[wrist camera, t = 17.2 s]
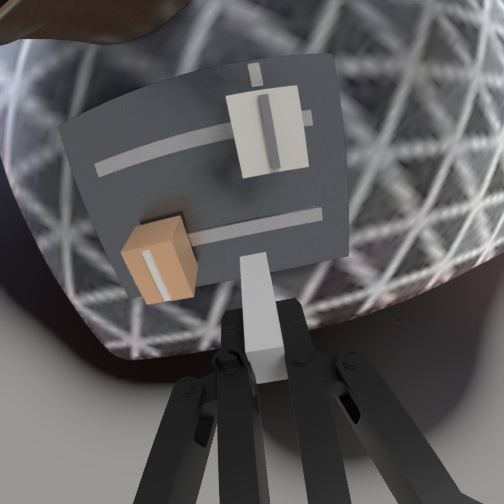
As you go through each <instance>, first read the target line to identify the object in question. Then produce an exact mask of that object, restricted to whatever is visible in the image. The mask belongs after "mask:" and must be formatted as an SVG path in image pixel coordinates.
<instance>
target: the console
mask: <svg viewBox="0 0 504 504" xmlns="http://www.w3.org/2000/svg"><path fill="white" fill-rule="evenodd" d="M295 85H297V88H298V93H299V99H300V105H301V112H302V118H303V125H304V132H305V139H306V146H307V154H308V162H309V167H305V168H298V169H292V170H286V171H280V172H275V173H269V174H264V175H259V176H253V177H248V178H243V176H242V172H241V167H240V162H239V157H238V153H237V148H236V143H235V138H234V134H233V129H232V124H231V120H230V115H229V110H228V106H227V101H226V96H229V95H234V94H239V93H244V92H250V91H256V90H263V89H270V88H277V87H286V86H295ZM58 127H59V131H60V134H61V138H62V141H63V145H64V148H65V151H66V154H67V158H68V161H69V164H70V167H71V170H72V173H73V175H74V178H75V181H76V184H77V187H78V189H79V192H80V195H81V197H82V200H83V202H84V205H85V207H86V210H87V212H88V214H89V217H90V219H91V221H92V224H93V226H94V228H95V231H96V233H97V235H98V237H99V239H100V242H101V244H102V246H103V248H104V250H105V252H106V254H107V256H108V258H109V260H110V262H111V264H112V266H113V268H114V270H115V272H116V274H117V276H118V278H119V280H120V281H121V283H122V285H123V287H124V289H125V291H126V292H127V294H128V296H129V298H134V297H140V296H142V294H141V293H140V291H139V289H138V287H137V285H136V283H135V281H134V279H133V277H132V275H131V273H130V271H129V269H128V267H127V265H126V263H125V261H124V259H123V257H122V255H121V253H120V252H121V251H122V249H123V247H124V245H125V244H126V242H127V240H128V239H129V237H130V235H131V234H132V232H133V230H134V229H135V227H136V226H140V225H144V224H148V223H151V222H155V221H159V220H163V219H167V218H171V217H175V216H181V219H182V222H183V225H184V228H185V231H186V234H187V237H188V240H189V242H190V245H191V248H192V251H193V254H194V257H195V260H196V262H197V265H198V270H197V277H196V284H195V287H197V286H203V285H208V284H213V283H219V282H224V281H229V280H234V279H240V278H241V271H240V257H242V256H247V255H252V254H257V253H263V252H266V256H267V261H268V266H269V271H270V272H275V271H280V270H285V269H290V268H295V267H299V266H304V265H309V264H314V263H318V262H323V261H328V260H332V259H337V258H342V257H346V256H349V206H348V180H347V163H346V150H345V138H344V128H343V119H342V110H341V103H340V95H339V88H338V82H337V76H336V70H335V64H334V59H333V54H306V55H291V56H280V57H270V58H262V59H255V60H248V61H242V62H236V63H231V64H226V65H221V66H216V67H211V68H207V69H203V70H199V71H195V72H191V73H187V74H184V75H180V76H177V77H173V78H170V79H167V80H163V81H160V82H157V83H154V84H151V85H148V86H146V87H143V88H140V89H137V90H135V91H132V92H129V93H127V94H124V95H122V96H119V97H117V98H115V99H112V100H110V101H108V102H105V103H103V104H101V105H99V106H97V107H95V108H92V109H90V110H88V111H86V112H84V113H82V114H80V115H78V116H76V117H75V118H73V119H71V120H69V121H67V122H65V123H63V124H62V125H60V126H58Z"/></svg>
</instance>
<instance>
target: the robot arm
mask: <svg viewBox="0 0 504 504" xmlns="http://www.w3.org/2000/svg"><path fill="white" fill-rule="evenodd" d="M240 271H241V288H242V306H243V308H241V309H235V310H228V311H225V313H224V315H223V317H222V319H221V328H222V329H221V350H220V351H218V352H217V353H216V354H215V355H214V357H213V359H212V364H213V366H214V368H215V369H216V371H215V372H213V373H212V374H210V375H208V376H206V377H203V378H201V379H197V378H194V377H184V378H182V379H180V380H179V381H177V382H176V384H175V385H174V387H173V390H172V392H171V395H170V398H169V401H168V404H167V406H166V409H165V412H164V414H163V417H162V420H161V423H160V426H159V429H158V431H157V434H156V437H155V440H154V443H153V446H152V448H151V451H150V454H149V457H148V460H147V463H146V466H145V469H144V472H143V475H142V478H141V481H140V484H139V487H138V490H137V493H136V496H135V499H134V502H133V504H196V501H197V497H198V493H199V490H200V486H201V482H202V478H203V475H204V470H205V467H206V463H207V459H208V456H209V452H210V448H211V444H212V441H213V437H214V433H215V429H216V425H217V424H218V425H217V427H218V429H217V431H218V472H219V497H220V504H270V498H269V489H268V480H267V470H266V461H265V452H264V442H263V432H262V423H261V414H260V404H259V394H258V391H257V386H256V382H257V384H258V383H265V382H272V381H278V380H283V379H288V380H289V387H290V393H291V398H292V404H293V410H294V417H295V423H296V429H297V435H298V441H299V447H300V454H301V460H302V466H303V473H304V479H305V485H306V492H307V499H308V504H351V499H350V494H349V489H348V484H347V479H346V474H345V469H344V465H343V460H342V456H341V451H340V446H339V442H338V438H337V433H336V429H335V425H334V421H333V416H332V413H331V408H330V404H329V400H328V396H334V397H335V398H336V400H337V402H338V403H339V405H340V406H341V408H342V410H343V412H344V413H345V415H346V417H347V418H348V420H349V422H350V424H351V425H352V427H353V429H354V430H355V432H356V434H357V435H358V437H359V439H360V440H361V442H362V444H363V445H364V447H365V449H366V450H367V452H368V454H369V455H370V457H371V459H372V461H373V462H374V464H375V465H376V467H377V469H378V471H379V472H380V474H381V476H382V477H383V479H384V481H385V482H386V484H387V486H388V487H389V489H390V491H391V492H392V494H393V496H394V497H395V499H396V501H397V502H398V504H482V503H480V502H478V501H476V500H474V499H472V498H470V497H468V496H466V495H465V494H463V493H461V492H460V490H459V489H458V487H457V486H456V484H455V482H454V481H453V480H452V478H451V476H450V475H449V473H448V472H447V470H446V469H445V467H444V465H443V464H442V463H441V461H440V459H439V458H438V457H437V455H436V453H435V452H434V451H433V449H432V447H431V446H430V445H429V443H428V442H427V440H426V439H425V437H424V436H423V434H422V433H421V431H420V430H419V428H418V427H417V426H416V424H415V423H414V421H413V420H412V418H411V417H410V415H409V414H408V413H407V411H406V410H405V409H404V407H403V406H402V404H401V403H400V401H399V400H398V399H397V397H396V396H395V394H394V393H393V392H392V390H391V389H390V387H389V386H388V385H387V383H386V382H385V380H384V379H383V378H382V376H381V375H380V374H379V373H378V371H377V370H376V368H375V367H374V366H373V364H372V363H371V361H370V360H369V359H368V357H367V356H366V355H365V354H364V353H363V352H362V351H360V350H357V349H348V350H345V351H343V352H342V353H341V354H339V355H326V354H322V353H320V352H318V351H317V350H316V349H315V348H314V347H313V345H312V342H311V338H310V334H309V331H308V327H307V324H306V321H305V316H304V313H303V309H302V306H301V304H300V303H299V302H298V301H297V300H296V298H292V299H287V300H281V301H276V302H275V297H274V292H273V287H272V282H271V276H270V271H269V266H268V261H267V256H266V252H263V253H257V254H252V255H247V256H242V257H240Z"/></svg>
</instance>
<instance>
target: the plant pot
mask: <svg viewBox="0 0 504 504" xmlns="http://www.w3.org/2000/svg"><path fill="white" fill-rule="evenodd" d="M190 1H191V0H0V46H1V45H5V44H8V43H11V42H13V41H16V40H18V39H57V40H70V41H79V42H86V43H92V44H99V45H108V44H117V43H122V42H127V41H130V40H133V39H136V38H139V37H142V36H144V35H146V34H148V33H150V32H152V31H154V30H156V29H158V28H160V27H161V26H163V25H165V24H166V23H167V22H168V21H169V20H170V19H171V18H172V17H173V16H174V15H175V14H177V13H178V12H179V11H180V10H181V9H182V8H184V7H185V6H187V5H188V3H189V2H190Z"/></svg>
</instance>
